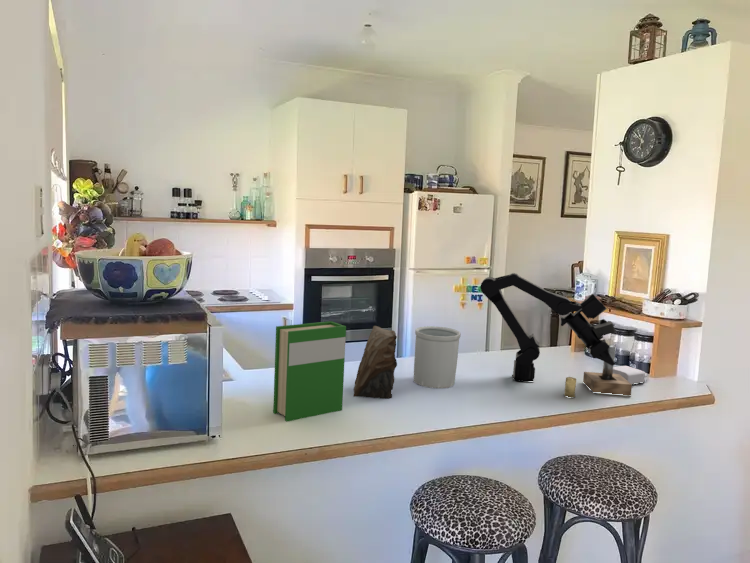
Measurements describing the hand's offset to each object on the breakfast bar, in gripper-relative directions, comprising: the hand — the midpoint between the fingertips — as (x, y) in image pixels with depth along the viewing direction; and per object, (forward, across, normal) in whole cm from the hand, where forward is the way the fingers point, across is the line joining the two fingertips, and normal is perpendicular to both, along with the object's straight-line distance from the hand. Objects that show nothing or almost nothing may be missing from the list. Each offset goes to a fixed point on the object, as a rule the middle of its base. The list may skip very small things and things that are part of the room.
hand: (612, 363), depth 198 cm
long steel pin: (+4, 0, +6) cm, 7 cm away
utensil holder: (-34, -16, +47) cm, 60 cm away
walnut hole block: (+6, 0, +7) cm, 9 cm away
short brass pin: (-3, -13, +16) cm, 22 cm away
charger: (+13, +15, 0) cm, 20 cm away
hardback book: (-54, -58, +68) cm, 104 cm away
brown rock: (-46, -35, +59) cm, 83 cm away
